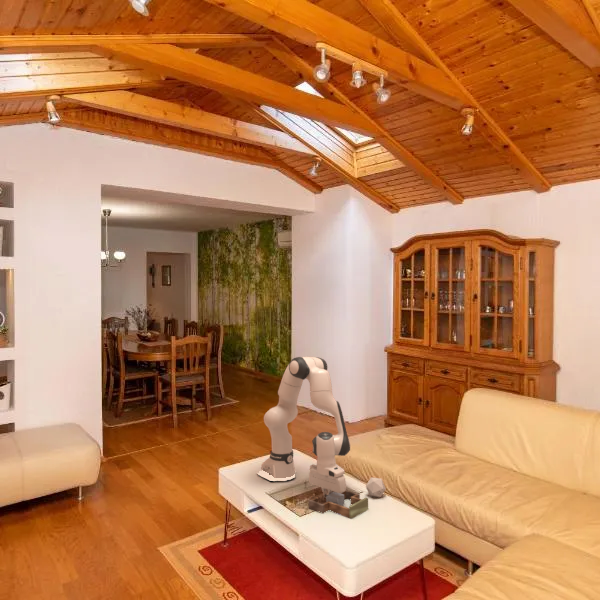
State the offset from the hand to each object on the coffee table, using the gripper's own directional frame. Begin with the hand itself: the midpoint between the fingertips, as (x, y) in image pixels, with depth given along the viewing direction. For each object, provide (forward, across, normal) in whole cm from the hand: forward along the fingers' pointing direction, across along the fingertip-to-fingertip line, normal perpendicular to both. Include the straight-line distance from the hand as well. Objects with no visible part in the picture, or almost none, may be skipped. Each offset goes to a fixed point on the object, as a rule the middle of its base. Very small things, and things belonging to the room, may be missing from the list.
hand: (327, 497), depth 226 cm
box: (+2, +7, 0) cm, 7 cm away
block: (+2, +5, 0) cm, 5 cm away
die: (+2, +13, +21) cm, 25 cm away
